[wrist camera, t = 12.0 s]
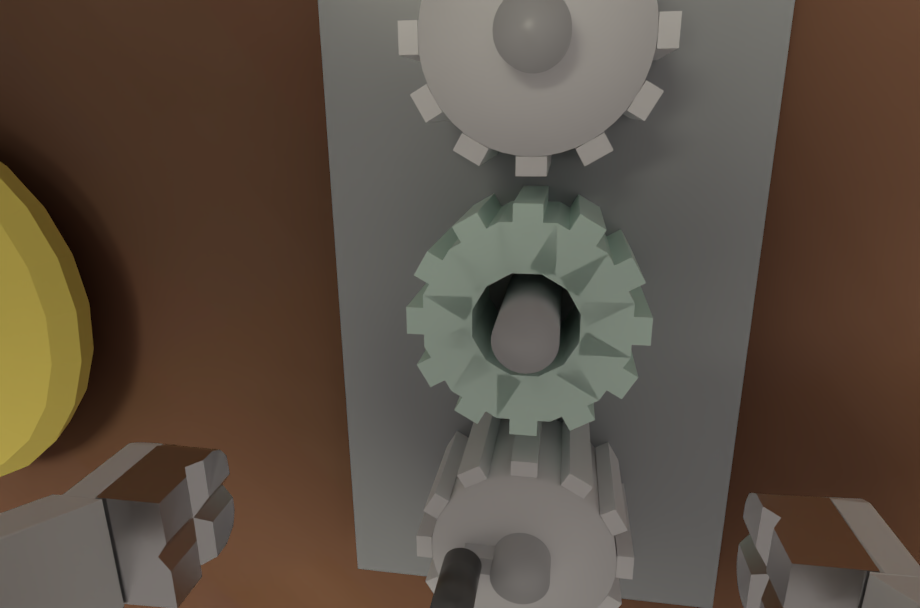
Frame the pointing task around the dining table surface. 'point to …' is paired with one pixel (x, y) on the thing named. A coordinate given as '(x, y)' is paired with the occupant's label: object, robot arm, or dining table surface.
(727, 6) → the gear board
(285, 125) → the dining table surface
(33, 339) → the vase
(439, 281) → the loose gear
